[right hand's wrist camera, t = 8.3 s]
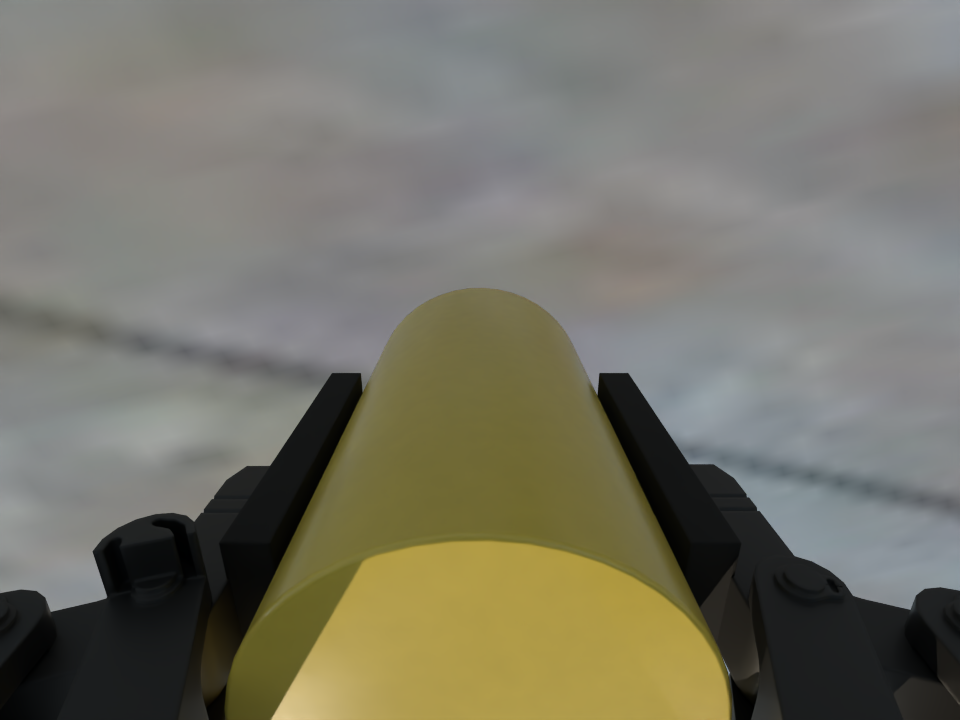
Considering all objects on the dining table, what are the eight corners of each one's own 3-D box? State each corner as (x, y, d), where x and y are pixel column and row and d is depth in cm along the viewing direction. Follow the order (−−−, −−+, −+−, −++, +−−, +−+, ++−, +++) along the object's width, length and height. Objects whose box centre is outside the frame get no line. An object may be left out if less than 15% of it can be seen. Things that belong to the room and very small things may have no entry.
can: (358, 443, 17) (193, 841, 7) (407, 259, 15) (266, 469, 5) (540, 492, 18) (615, 916, 8) (611, 322, 16) (836, 615, 6)
